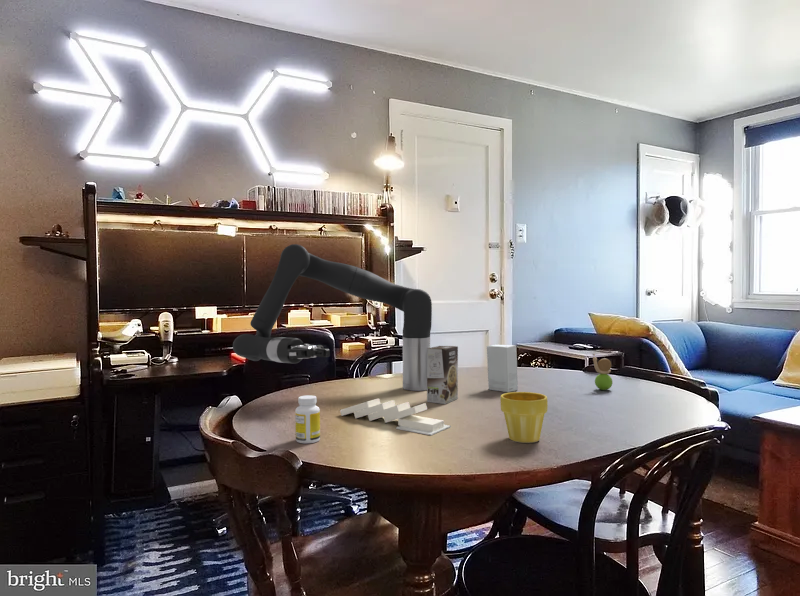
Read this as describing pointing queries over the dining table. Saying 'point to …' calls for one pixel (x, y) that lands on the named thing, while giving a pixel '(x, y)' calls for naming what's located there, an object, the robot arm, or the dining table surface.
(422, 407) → the domino
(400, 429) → the felt pad
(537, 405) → the plant pot
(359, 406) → the domino
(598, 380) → the snail figurine
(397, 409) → the domino
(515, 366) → the skincare box
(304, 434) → the supplement bottle
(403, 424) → the domino
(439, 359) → the coffee box
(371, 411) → the domino
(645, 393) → the dining table surface
